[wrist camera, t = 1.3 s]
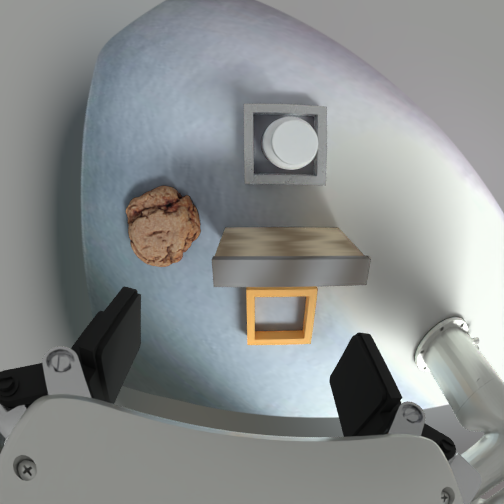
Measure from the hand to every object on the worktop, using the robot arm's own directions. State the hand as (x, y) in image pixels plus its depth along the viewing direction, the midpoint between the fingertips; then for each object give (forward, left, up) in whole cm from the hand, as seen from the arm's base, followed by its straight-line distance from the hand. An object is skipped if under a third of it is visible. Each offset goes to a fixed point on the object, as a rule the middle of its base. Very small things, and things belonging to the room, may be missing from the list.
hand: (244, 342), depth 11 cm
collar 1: (-4, -8, -23) cm, 25 cm away
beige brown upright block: (-4, +3, -23) cm, 24 cm away
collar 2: (-4, +14, -23) cm, 27 cm away
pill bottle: (-4, -8, -24) cm, 25 cm away
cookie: (+11, +2, -24) cm, 26 cm away
